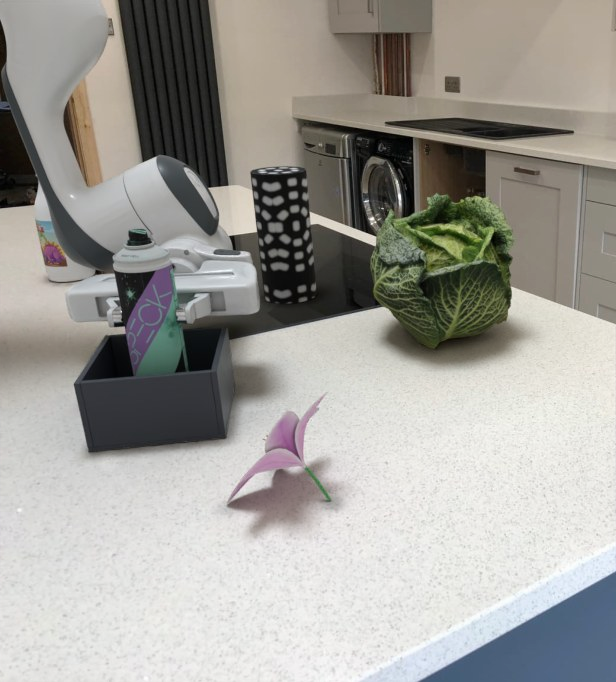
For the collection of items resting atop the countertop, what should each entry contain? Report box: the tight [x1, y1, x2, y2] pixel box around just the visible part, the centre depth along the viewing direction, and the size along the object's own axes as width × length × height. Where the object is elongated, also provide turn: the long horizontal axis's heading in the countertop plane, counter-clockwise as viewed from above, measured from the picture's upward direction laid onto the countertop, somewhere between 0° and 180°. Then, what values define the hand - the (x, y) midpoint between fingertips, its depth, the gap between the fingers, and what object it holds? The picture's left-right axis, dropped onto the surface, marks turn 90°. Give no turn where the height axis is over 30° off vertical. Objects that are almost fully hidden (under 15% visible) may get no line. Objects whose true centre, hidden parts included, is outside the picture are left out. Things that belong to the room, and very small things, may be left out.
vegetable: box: [370, 192, 516, 350], centre depth 100 cm, size 20×19×20 cm
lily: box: [226, 390, 332, 505], centre depth 64 cm, size 12×12×10 cm
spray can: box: [113, 229, 189, 376], centre depth 76 cm, size 6×6×20 cm
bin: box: [73, 325, 236, 453], centre depth 79 cm, size 13×13×8 cm
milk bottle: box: [33, 174, 96, 283], centre depth 126 cm, size 8×8×20 cm
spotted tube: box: [249, 165, 318, 305], centre depth 115 cm, size 8×8×20 cm
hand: (149, 318), depth 75 cm, fingers closed on spray can, 5 cm apart
